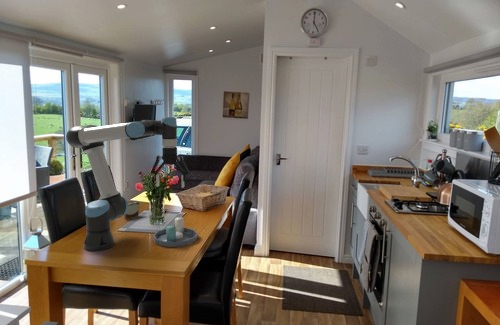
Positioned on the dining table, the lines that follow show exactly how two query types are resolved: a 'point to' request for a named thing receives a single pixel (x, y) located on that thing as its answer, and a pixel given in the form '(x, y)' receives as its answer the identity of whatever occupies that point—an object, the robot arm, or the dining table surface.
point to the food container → (132, 209)
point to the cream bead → (179, 224)
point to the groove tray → (182, 242)
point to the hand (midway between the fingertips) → (170, 186)
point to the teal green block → (171, 233)
